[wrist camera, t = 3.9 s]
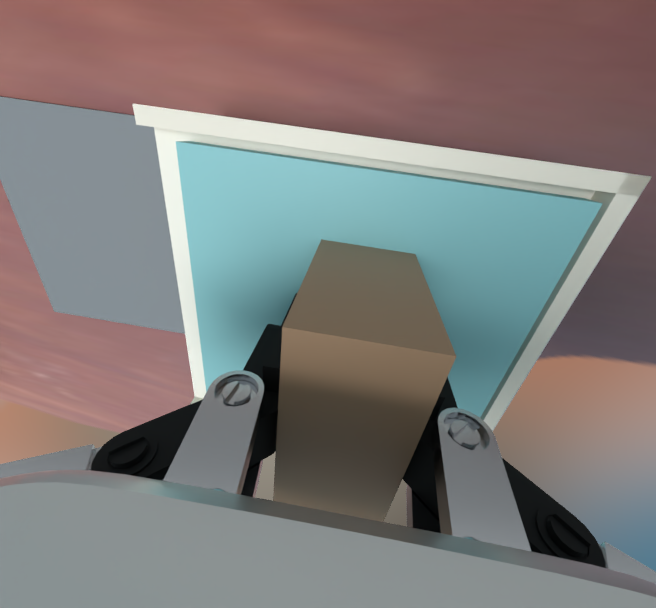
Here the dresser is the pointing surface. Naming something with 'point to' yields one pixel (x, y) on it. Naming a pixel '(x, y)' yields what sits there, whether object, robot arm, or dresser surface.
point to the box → (405, 157)
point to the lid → (365, 301)
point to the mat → (91, 211)
